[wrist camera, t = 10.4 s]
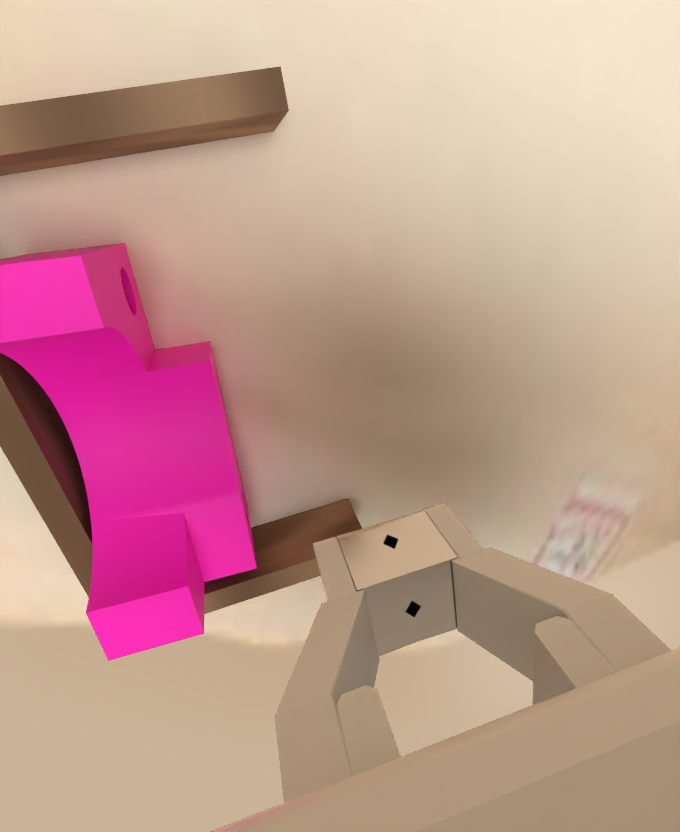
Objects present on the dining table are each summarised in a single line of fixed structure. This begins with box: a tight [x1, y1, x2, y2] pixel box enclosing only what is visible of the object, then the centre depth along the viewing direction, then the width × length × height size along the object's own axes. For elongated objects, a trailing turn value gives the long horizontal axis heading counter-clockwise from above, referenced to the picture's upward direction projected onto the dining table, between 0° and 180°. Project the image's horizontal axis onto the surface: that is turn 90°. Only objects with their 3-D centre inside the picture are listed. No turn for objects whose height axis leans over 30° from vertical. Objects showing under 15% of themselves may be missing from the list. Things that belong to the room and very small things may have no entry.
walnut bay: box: [0, 67, 362, 614], centre depth 20 cm, size 13×21×4 cm, turn 10°
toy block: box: [0, 243, 257, 661], centre depth 19 cm, size 15×6×8 cm, turn 6°
